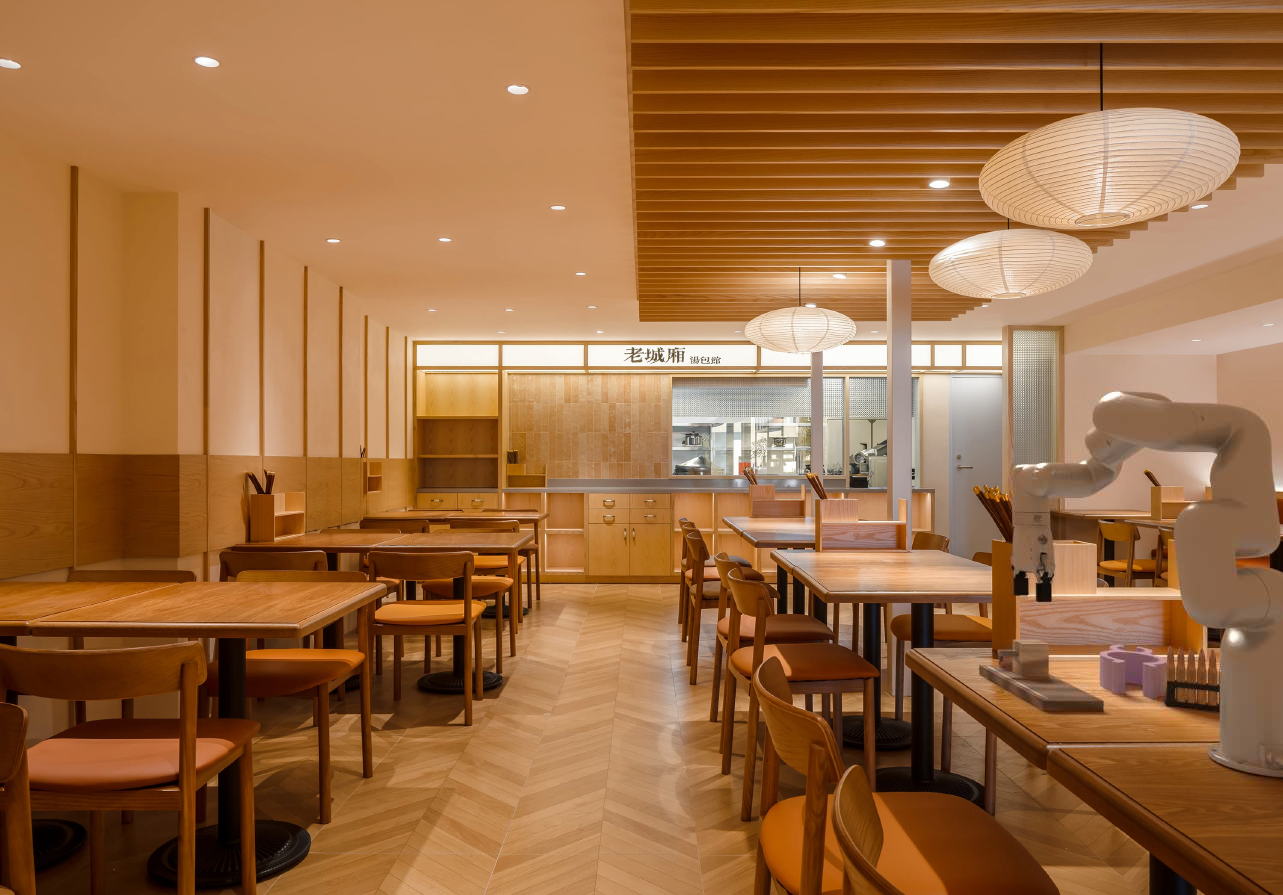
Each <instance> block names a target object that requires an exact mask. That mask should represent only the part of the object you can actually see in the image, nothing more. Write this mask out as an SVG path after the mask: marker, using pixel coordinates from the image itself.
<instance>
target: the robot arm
mask: <svg viewBox="0 0 1283 895" xmlns="http://www.w3.org/2000/svg"><path fill="white" fill-rule="evenodd" d="M1092 422H1093V423H1092V424H1093V425H1094V426H1093V427H1092V428H1090V429H1089V430H1087V433H1086V434H1085V437H1084V445H1085V448H1086V449H1087V450H1086V451H1088V453H1089V454H1090V456H1089V457H1088V458H1086V459H1085V460H1083V461H1081V462H1042V463H1037V464H1017V465H1015V466H1013V468H1012V471H1011V496H1012V497H1011V498H1012V500H1011V502H1012V505H1011V506H1012V507H1011V510H1012V517H1011V520H1012V528H1013V534H1012V550H1011V551H1012V554H1011V556H1010V557H1009V558H1010V564H1011V570H1012V575H1011V576H1012V578H1013V595H1014V596H1015V597H1016V596H1018V597H1020V596H1021V597H1026V596H1029V595H1030V594H1029V593H1030V592H1029V591H1030V590H1029V589H1030V588H1029V587H1030V586H1029V584H1030V583H1029V581H1030V580H1029V578H1030V577H1027V576H1028V575H1029V573H1031V574H1034V576H1035V579H1036V581H1037V582H1035V601H1036V602H1038V603H1052V601H1053V593H1052V592H1053V591H1052V590H1053V589H1052V586H1053V585H1052V584H1053V582H1054V580H1053V578H1054V577H1055V569H1056V563H1055V549H1054V539H1053V533H1052V530H1051V501H1050V500H1051V499H1084V498H1087V497H1092V496H1093V495H1096V494H1097V493H1099V492H1101V491H1102V490H1104V489H1105V488H1106V487H1108V486H1110V485H1111V484H1112V483H1114V482H1115V481H1116V480H1117V478H1118V477H1119V475H1120V474H1121V471H1122V469H1123V464H1124V462H1125V461H1126V460H1128V459H1129V458H1131V457H1132V456H1134V455H1135V454H1137V453H1138V452H1140V451H1141V450H1143V449H1145V448H1146V449H1150V450H1155V451H1159V452H1160V451H1161V452H1168V453H1176V452H1177V453H1179V452H1180V453H1213V454H1216V457H1215V458H1214V461H1213V463H1212V465H1211V468H1210V474H1209V483H1210V489H1211V499H1201V500H1197V501H1194V502H1191V503H1189V504H1188V505H1186V506H1185V507H1183V509H1182V510H1181V511H1180V512H1179V514H1178V516H1177V518H1176V520H1175V523H1174V527H1173V528H1174V529H1173V541H1174V542H1173V544H1174V550H1175V551H1174V552H1175V553H1174V554H1175V562H1176V568H1177V577H1178V578H1177V579H1178V585H1179V586H1178V587H1179V593H1180V598H1181V602H1182V605H1183V608H1184V610H1185V611H1186V613H1187V614H1188V616H1189V617H1190V618H1191V619H1192V620H1193V621H1195V622H1196V623H1197V624H1199V625H1201V626H1203V627H1206V628H1211V629H1225V630H1224V633H1223V635H1222V638H1221V643H1220V648H1219V649H1220V650H1219V668H1220V713H1219V743H1216V744H1212V745H1210V746H1209V747H1208V748H1207V749H1208V757H1210V759H1212V760H1213V761H1214V762H1216V763H1218V764H1221V765H1222V766H1226V767H1228V768H1231V769H1234V770H1237V771H1240V772H1245V773H1248V774H1254V775H1257V776H1259V775H1260V776H1265V777H1272V778H1273V777H1274V778H1283V572H1282V571H1280V570H1277V569H1274V568H1272V567H1271V568H1270V567H1266V566H1253V565H1251V566H1250V565H1249V566H1237V560H1236V559H1250V558H1251V559H1252V558H1260V557H1265V556H1269V555H1271V554H1273V553H1274V552H1275V551H1276V550H1277V549H1278V547H1279V545H1280V543H1281V523H1280V516H1279V509H1278V500H1277V493H1276V485H1275V480H1274V474H1273V461H1272V458H1273V450H1272V448H1273V446H1272V445H1273V444H1272V438H1271V434H1270V433H1271V432H1270V431H1269V428H1268V426H1267V424H1266V423H1265V421H1263V419H1262V418H1261V417H1260V416H1258V415H1257V414H1256V413H1255V412H1253V411H1251V410H1249V409H1247V408H1245V407H1241V406H1236V405H1232V404H1224V403H1215V402H1214V403H1212V402H1211V403H1210V402H1183V401H1181V402H1180V401H1176V402H1175V401H1172V400H1171V399H1170V398H1168V397H1167V396H1165V395H1162V394H1161V393H1157V392H1148V391H1147V392H1146V391H1127V390H1126V391H1122V390H1120V391H1113V392H1110V393H1108V394H1106V395H1104V396H1103V397H1102V398H1100V399H1099V400H1098V401H1097V403H1096V404H1095V406H1094V408H1093V411H1092Z"/></svg>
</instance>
